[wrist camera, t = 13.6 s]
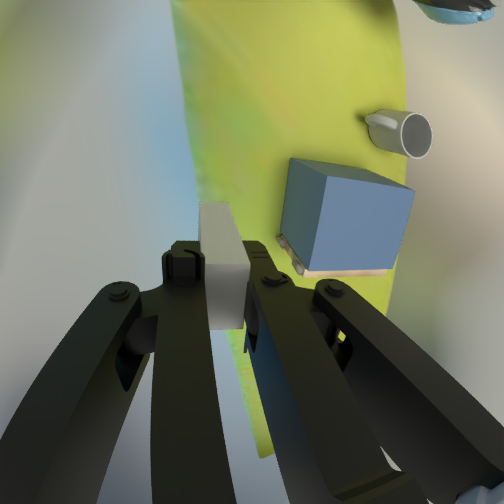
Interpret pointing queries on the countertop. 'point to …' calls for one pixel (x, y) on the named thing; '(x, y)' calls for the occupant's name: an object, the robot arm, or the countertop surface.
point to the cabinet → (343, 216)
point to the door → (305, 273)
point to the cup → (401, 132)
